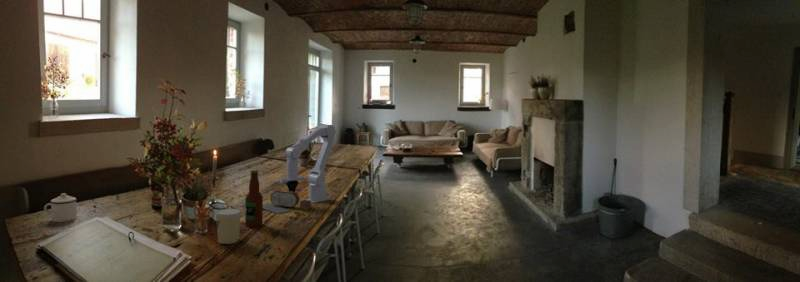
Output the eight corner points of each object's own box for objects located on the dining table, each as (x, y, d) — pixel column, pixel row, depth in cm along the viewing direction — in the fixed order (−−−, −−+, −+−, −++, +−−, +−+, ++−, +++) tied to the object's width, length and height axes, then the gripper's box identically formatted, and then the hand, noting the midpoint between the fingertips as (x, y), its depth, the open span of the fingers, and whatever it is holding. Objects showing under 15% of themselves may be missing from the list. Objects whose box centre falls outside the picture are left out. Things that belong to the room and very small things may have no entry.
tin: (298, 207, 224) (299, 191, 224) (296, 208, 221) (297, 192, 220) (271, 204, 225) (272, 188, 225) (269, 205, 222) (270, 189, 222)
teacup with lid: (81, 216, 192) (80, 191, 191) (70, 222, 183) (69, 196, 182) (50, 216, 189) (49, 191, 188) (38, 222, 181) (37, 196, 179)
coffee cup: (220, 236, 174) (220, 208, 173) (243, 236, 175) (243, 208, 174) (212, 244, 165) (212, 214, 164) (236, 244, 166) (237, 215, 165)
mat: (271, 204, 227) (271, 203, 227) (291, 211, 216) (291, 210, 216) (257, 206, 221) (257, 206, 221) (277, 214, 210) (277, 213, 210)
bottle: (245, 223, 193) (245, 169, 190) (261, 222, 196) (262, 169, 193) (245, 228, 186) (245, 172, 184) (262, 227, 189) (263, 172, 186)
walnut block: (304, 207, 226) (304, 199, 225) (310, 208, 224) (310, 200, 223) (299, 208, 222) (300, 201, 221) (306, 209, 220) (306, 202, 220)
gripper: (298, 167, 233) (298, 191, 234) (276, 170, 222) (275, 195, 223) (306, 169, 228) (306, 193, 230) (284, 172, 217) (283, 197, 219)
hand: (291, 194), depth 226 cm, fingers closed
